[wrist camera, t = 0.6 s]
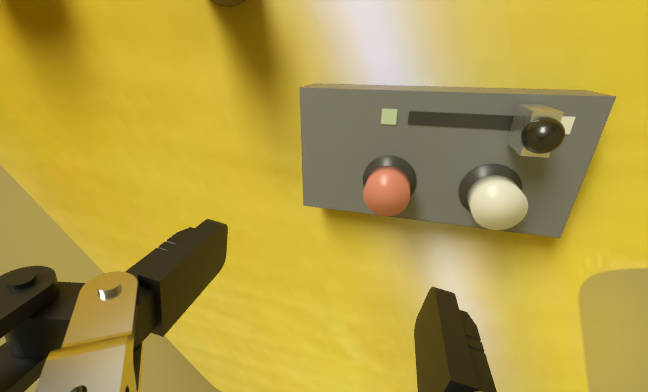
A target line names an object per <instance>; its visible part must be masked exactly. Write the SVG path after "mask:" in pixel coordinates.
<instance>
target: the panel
mask: <svg viewBox="0 0 648 392" xmlns="http://www.w3.org/2000/svg"><path fill="white" fill-rule="evenodd" d="M615 98H616V96H611V95H606V94H601V93H596V92H591V91H586V90H548V89H508V88H467V87H427V86H387V85H347V84H311V85H307V86H304V87H300V109H301V141H302V173H303V205H304V206H312V207H320V208H327V209H335V210H343V211H351V212H359V213H367V214H374V215H378V214H376V213H374V212H373V211H371V210H370V209H369V208H368V207H367V205H366V204H365V202H364V198H363V190H364V187H365V185H366V182H367V179H368V177H369V175H370V174H371V173H372V172H373V171H374V170H375V169H377V168H379V167H382V166H394V167H397V168H399V169H401V170H402V171H404V172H405V173H406V175H407V176H408V178H409V181H410V200H409V203H408V205H407V207H406V208H405V209H404V210H403V211H402V212H400V213H399V214H396V215H393V216H390V217H398V218H406V219H414V220H422V221H429V222H437V223H445V224H453V225H461V226H469V227H477V228H484V227H482V226H481V225H479V224H478V223H477V222H476V221H475V220H474V218H473V216H472V213H471V210H470V207H469V205H468V201H467V195H468V191H469V189H470V188H471V186H472V185H473V184H474V183H475V182H476V181H478V180H479V179H481V178H483V177H486V176H491V175H500V176H505V177H507V178H509V179H511V180H512V181H514V183H515V184H516V185H517V186H518V187H519V189H520V190H521V191H522V192H523V194H524V195H525V196H526V198H527V201H528V210H527V213H526V215H525V217H524V218H523V219H522V221H520V222H519V223H518V224H517V225H515V226H513V227H511V228H508V229H504V230H500V231H508V232H516V233H524V234H532V235H539V236H547V237H555V238H560V237H561V234H562V232H563V229H564V227H565V224H566V222H567V219H568V217H569V214H570V212H571V209H572V207H573V204H574V202H575V199H576V197H577V194H578V191H579V189H580V186H581V184H582V181H583V179H584V176H585V174H586V171H587V169H588V166H589V164H590V161H591V159H592V156H593V154H594V151H595V149H596V146H597V144H598V141H599V139H600V136H601V134H602V131H603V129H604V126H605V124H606V121H607V119H608V116H609V113H610V111H611V108H612V106H613V103H614V101H615ZM517 104H541V105H546V106H548V107H551V108H554V109H556V110H559V111H562V112H564V113H563V116H562V119H561V123H562V125H563V126H564V128H565V138H564V141H563V142H562V144H561V145H560V146H559V147H558V148H557V149H555V150H554V151H551V152H550V155H549V158H545V157H532V156H520V155H519V154H518V153H517V152H516V151H515V150H514V149H513V148H512V147H511V146H509V145H508V144H507V140H508V137H509V133H510V129H511V125H512V122H513V118H514V114H515V110H516V107H517ZM484 229H487V228H484Z"/></svg>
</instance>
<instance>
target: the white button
mask: <svg viewBox="0 0 648 392" xmlns="http://www.w3.org/2000/svg"><path fill="white" fill-rule="evenodd" d="M467 201H468V205H469V207H470V210H471V213H472V216H473V218H474V220H475V221H476V222H477V223H478V224H479V225H481V226H482V227H484V228H487V229H491V230H504V229H508V228H511V227H513V226H515V225H517V224H518V223H519V222H520V221H522V219H523V218H524V217H525V215H526V213H527V210H528V201H527V198H526V196H525V195H524V194H523V192H522V191H521V190H520V189H519V187H518V186H517V185H516V184H515V183H514V181H512V180H511V179H509V178H507V177H505V176H500V175H491V176H486V177H483V178H481V179H479V180H478V181H476V182H475V183H474V184H473V185H472V186H471V188H470V189H469V191H468V195H467Z"/></svg>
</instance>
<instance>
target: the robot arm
mask: <svg viewBox="0 0 648 392" xmlns="http://www.w3.org/2000/svg"><path fill="white" fill-rule="evenodd" d="M227 233H228V227H227V225H226V224H223V223H220V222H217V221H213V220H210V219H207V220H205V221H204V222H202V223H201V224H200V225H199V226H197V227H196V228H192V227H190V228H188V229H185V230H182V231H180V232H177V233H176V234H175V235H173V236H172V237H171V238H169V239H168V240H167V242H164V243H163V244H161V245H160V246H159V248H156V249H155V250H153V251H152V252H151V253H149V254H148V255H147V256H145V257H144V258H143V259H141V260H140V261H139V262H138V263H136V264H135V265H134V266H132V267H131V268H130V269H128V270H127V271H126V272H109V273H105V274H102V275H99V276H97V277H95V278H93V279H91V280H89V281H88V282H87V283H71V282H58V281H57V277H56V274H55V271H54V270H52V269H51V268H48V267H44V266H30V267H24V268H19V269H16V270H13V271H10V272H8V273H6V274H3V275H1V276H0V338H2V337H3V336H5V338H6V341H7V342H6V343H4V344H3V345H2V346H0V392H24V391H25V390H26V389H27V388H29V387H30V386H31V385H32V384H33V383H34V382H35V381H36V380H37V379H38V378H39V377H40V378H39V381H38V384H37V387H36V389H35V392H140V389H141V376H142V363H143V350H144V339H145V338H146V337H147V336H148V335H149V334H150V333H154V334H157V335H160V336H162V337H163V336H164V335H165V334H166V333H167V332H168V331H169V329H170V328H171V327H172V326H173V325H174V324H175V322H176V321H177V320H178V319H179V318H180V317H181V316H182V314H183V313H184V312H185V311H186V310H187V309H188V307H189V306H190V305H191V304H192V303H193V302H194V300H195V299H196V298H197V297H198V296H199V295H200V294H201V292H202V291H203V290H204V289H205V288H206V287H207V285H208V284H209V283H210V282H211V281H212V280H213V279H214V277H215V276H216V275H217V274H218V273H219V272H220V270H221V269H222V267H223V265H224V262H225V259H226V249H227ZM414 338H415V354H416V369H417V385H418V392H497V391H496V388H495V385H494V381H493V378H492V375H491V372H490V368H489V365H488V362H487V358H486V355H485V354H484V349H483V345H482V342H480V340H481V339H480V336H479V332H478V329H477V326H476V324H475V323H474V322H473V320H472V319H471V317H470V316H469V315H468V313H467V312H465V311H461V310H459V308H458V304H457V300H456V296H455V294H454V293H452V292H449V291H445V290H442V289H439V288H435V287H432V288H431V289H430V290H429V292H428V294H427V297H426V299H425V301H424V303H423V305H422V308H421V310H420V312H419V314H418V316H417V319H416V323H415V329H414Z"/></svg>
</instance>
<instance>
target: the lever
mask: <svg viewBox="0 0 648 392" xmlns="http://www.w3.org/2000/svg"><path fill="white" fill-rule="evenodd" d="M563 113H564V112H562V111H559V110H556V109H554V108H551V107H548V106H546V105H541V104H517V107H516V110H515V114H514V118H513V122H512V125H511V129H510V133H509V137H508V140H507V144H508V145H509V146H511V147H512V148H513V149H514V150H515V151H516V152H517V153H518V154H519V155H520V156H532V157H545V158H549V155H550V152H551V151H554V150H555V149H557V148H558V147H559V146H560V145H561V144H562V142H563V141H564V138H565V128H564V126H563V125H562V123H561V119H562V116H563Z"/></svg>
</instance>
